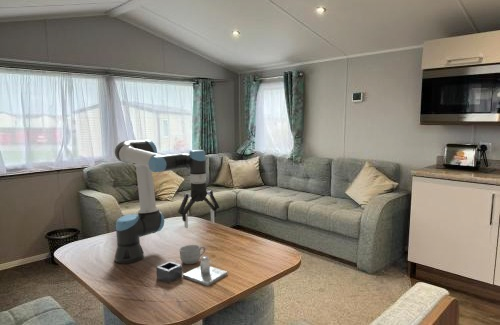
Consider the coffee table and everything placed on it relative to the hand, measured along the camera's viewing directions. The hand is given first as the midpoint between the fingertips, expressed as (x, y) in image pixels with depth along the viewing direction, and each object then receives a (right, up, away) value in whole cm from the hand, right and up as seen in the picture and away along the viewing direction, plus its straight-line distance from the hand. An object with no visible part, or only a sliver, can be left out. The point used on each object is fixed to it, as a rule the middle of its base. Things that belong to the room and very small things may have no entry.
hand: (199, 225), depth 163 cm
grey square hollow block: (-14, -25, -3) cm, 29 cm away
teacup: (-6, -23, +16) cm, 28 cm away
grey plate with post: (+3, -24, -1) cm, 24 cm away
